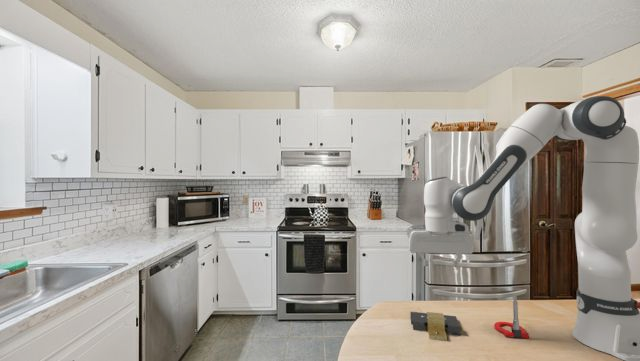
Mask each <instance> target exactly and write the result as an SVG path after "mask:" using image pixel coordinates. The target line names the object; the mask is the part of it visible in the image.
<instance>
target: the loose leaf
mask: <svg viewBox="0 0 640 361" xmlns="http://www.w3.org/2000/svg"><path fill="white" fill-rule="evenodd" d="M426 313H427V326H426V328H427V333H428V340H437V341H443V342H447V341H448V340H447V339H448V337H447V333H446V328H445V318H444V315H445V314H444V313H442V312H431V311H426Z"/></svg>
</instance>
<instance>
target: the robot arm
mask: <svg viewBox="0 0 640 361" xmlns="http://www.w3.org/2000/svg"><path fill="white" fill-rule="evenodd" d="M553 138H555V139H557V140H561V141H565V142H566V141H567V142H569V141H578V140H581V141H582V142H583V144H584V146H585V149H586V151H585V152H586V154H585V160H584V166H583V167H584V168H583V177H582V182H581V184H582V186H581V195H582V197H581V198H582V199H581V200H582V201H581V202H582V204H581V205H582V206H581V207H582V208H581V210H582V211H581V212H580V213H579V214H578V215H577V216H576V218H575V221H574V235H575V236H574V237H575V247H576V248H575V250H576V256H577V271H578V272H577V274H578V275H577V276H578V277H577V278H578V282H577V284H578V288H577V289H576V308H577V315H576V319H575V320H576V321H575V325H574V328H573V330H572V332H571V333H572V336H573V337H574V339H576V340H577V341H579V342H580V343H581V344H583V345H585V346H587V347H589V348H592V349H595V350H597V351H599V352H602V353H606V354H608V355H612V356H614V357H616V358H617V359H620V360H622V361H640V301H639V302H638V301H637V300H636V299H634V298H632V288H631V287H632V285H631V284H632V282H631V281H632V279H631V278H632V277H631V276H632V274H631V268H630V266H629V261H628V257H627V256H628V255H627V251H628V250H630V249H631V248H633V247H634V246H635V244H636V243H637V242H638V230H637V221H638V220H637V205H636V203H637V202H636V187H637V180H638V172H639V171H638V170H639V162H640V145H639V143H640V142H639V137H638V132H637V131H636V129H634V128H633V127H631V126H627V119H626V117H625V111H624V108H623V105H622V104H621V102H619V100H617V99H616V98H614V97H612V96H607V95H606V96H605V95H597V96H591V97H586V98H585V99H582V100H578V101H576V102H575V101H574V102H572V103H571V104H569V105H566V106H565V107H562V108H560V109H559V108H557V107H555V106H553V105H552V104H548V103H538V104H535V105H533V106H531V107H530V108H528V109H527V110H526V111H525V112H524V113H522V114H521V115H520V116H519V117H518V118H517V119H515V121H514V122H512V124H511V125H509V127H508V128H507V129H505V131H504V133H503V134H502V135H501V137H500V138H499V140H498V141H497V143H496V145H495V152H496V153H495V158H494V160H493V161H492V162H491V164H490V165H489V166H488V167H487V168H486V169H485V170H484V171H483V173H481V175H480V176H479V177H478V179H477V180H476V181H475V182H473V183H472V184H470V185H465V184H462V183H459V182H457V181H454V180H452V179H451V178H449V177H448V176H441V177H436V178H432V179H429V180H427V181H426V182H425V184H424V187H423V204H424V208H425V212H424V224H423V225H422V224H421V225H420V224H419V225H415V224H413V225H411V226H409V227H408V228H407V229H406V236H407V237H408V238H409V239H408V251H409V252H410V253H413V254H419V257H420V258H421V260H422V262H423V267H429V260H428V259H425V254H450V255H451V254H453V255H454V254H455V256H456V259H455V260H452V266H453V268H459V267H460V266H459V265H460V264H459V262H460V261H461V260H462V258H463V255H472V254H473V253H474V247H475V246H474V241H473V238H472V234H471V233H470V232H469V231H470V228H469V226H468V224H466V223H464V222H461V221H458V220H454V216H453V215H454V214H456V215H457V216H459V217H460V218H461V219H463V220H465V221H469V222H470V221H473V222H475V221H479V220H481V219H483V218H485V217H486V216H488V214H489V213H490V212H491V209H492V207H493V204H494V200H495V198H496V196H497V194H498V193H499V192H500V191H501V189H502V188H503V187H504V186H505V185H506V183H507V182H508V181H510V179H511V178H512V176H513V175H514V174H516V173H517V171H518V170H519V169H521V167H523V166H524V165H525V164H526V163H528V162H529V161H530V160H532V159H533V157H535V156H536V155H537V154H538V153H539V152H540V151H541V150H542V149H543V148H544V147H545V146H546V145H547V143H549V141H550V140H551V139H553Z"/></svg>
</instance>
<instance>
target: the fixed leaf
mask: <svg viewBox="0 0 640 361" xmlns="http://www.w3.org/2000/svg"><path fill="white" fill-rule="evenodd" d="M443 315H444V318H445V330H446V331H447V334H448V335H453V336H454V335H457V336H461V326H460V324H459V321H458V318H457V317H456V315H449V314H448V315H447V314H443ZM410 325H412V330H413V331H420V332H421V331H422V332H425V331H426V330H425V327H427V312H417V311H410Z"/></svg>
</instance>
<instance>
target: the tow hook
mask: <svg viewBox="0 0 640 361" xmlns="http://www.w3.org/2000/svg"><path fill="white" fill-rule="evenodd" d="M512 305H513V306H512V308H513V310H512V312H513V313H512V314H513V320H512V322H508V321H497V322H495V323H493V324H494V328H495V330H497V331H498V332H500V333H502V334H503V336H504V337H506V338H515V339H529V338H530V334H529V332H527V330H526V329H525V328H524V327H522V326H521V325H520V321H519V306H518V305H519V304H518V299H517V294H513V301H512ZM502 327H503V328H502ZM504 327H510V329H511V331H510V330H507V329H504Z"/></svg>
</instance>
